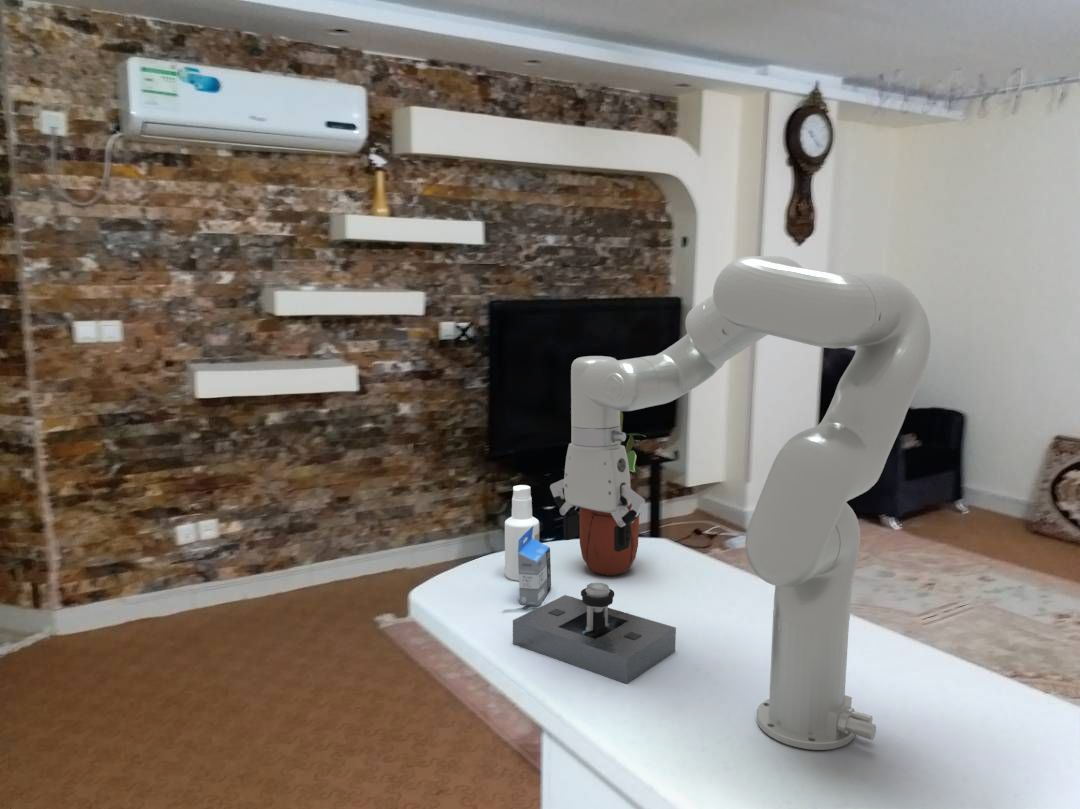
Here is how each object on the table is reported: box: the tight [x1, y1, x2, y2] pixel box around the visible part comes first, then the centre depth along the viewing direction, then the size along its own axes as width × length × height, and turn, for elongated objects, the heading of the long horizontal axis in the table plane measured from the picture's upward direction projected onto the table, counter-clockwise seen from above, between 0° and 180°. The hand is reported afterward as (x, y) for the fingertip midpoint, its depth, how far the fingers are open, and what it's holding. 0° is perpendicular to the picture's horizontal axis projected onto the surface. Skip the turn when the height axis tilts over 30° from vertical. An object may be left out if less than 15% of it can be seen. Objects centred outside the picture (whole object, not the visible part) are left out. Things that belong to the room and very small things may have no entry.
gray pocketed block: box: [512, 594, 677, 685], centre depth 140 cm, size 22×14×4 cm, turn 51°
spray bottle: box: [504, 484, 540, 582], centre depth 171 cm, size 7×7×18 cm
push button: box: [580, 582, 615, 639], centre depth 140 cm, size 7×5×10 cm
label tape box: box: [518, 526, 552, 607], centre depth 161 cm, size 9×4×12 cm, turn 164°
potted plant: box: [578, 411, 647, 577], centre depth 172 cm, size 17×16×35 cm
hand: (595, 543), depth 137 cm, fingers open, 9 cm apart
